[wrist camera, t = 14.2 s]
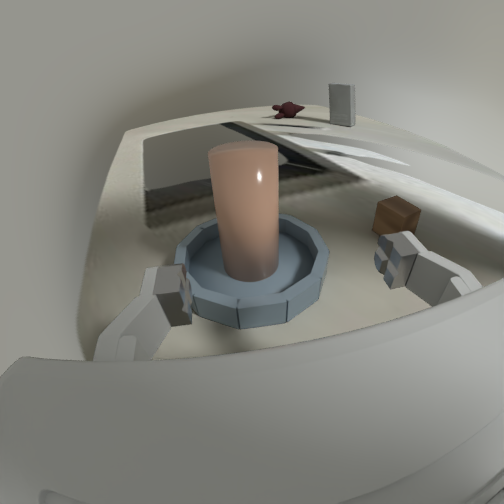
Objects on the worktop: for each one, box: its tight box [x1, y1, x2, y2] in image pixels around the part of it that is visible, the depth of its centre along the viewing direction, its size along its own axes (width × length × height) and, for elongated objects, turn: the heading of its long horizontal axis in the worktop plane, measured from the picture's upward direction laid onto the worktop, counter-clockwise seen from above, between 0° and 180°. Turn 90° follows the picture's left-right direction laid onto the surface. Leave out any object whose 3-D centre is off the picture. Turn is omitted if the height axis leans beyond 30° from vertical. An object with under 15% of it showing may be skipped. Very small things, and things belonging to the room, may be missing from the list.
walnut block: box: [372, 196, 421, 236], centre depth 29 cm, size 4×4×4 cm
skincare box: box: [329, 83, 355, 127], centre depth 81 cm, size 8×7×16 cm
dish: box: [174, 213, 329, 329], centre depth 26 cm, size 14×14×2 cm
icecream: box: [272, 102, 305, 119], centre depth 94 cm, size 7×7×15 cm
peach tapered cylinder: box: [208, 141, 279, 282], centre depth 23 cm, size 5×5×11 cm
